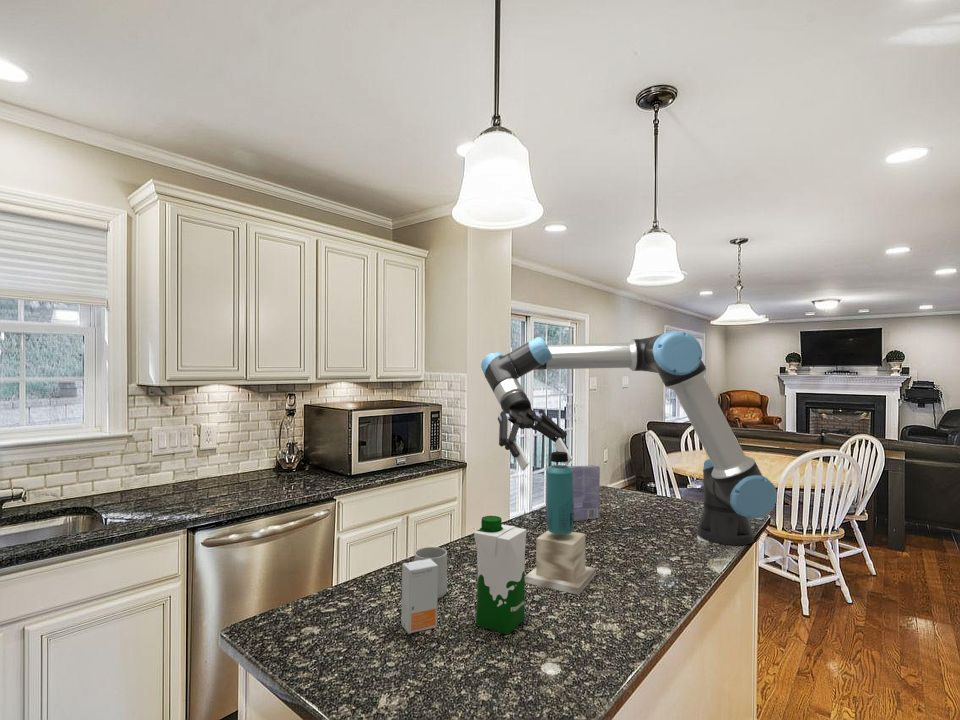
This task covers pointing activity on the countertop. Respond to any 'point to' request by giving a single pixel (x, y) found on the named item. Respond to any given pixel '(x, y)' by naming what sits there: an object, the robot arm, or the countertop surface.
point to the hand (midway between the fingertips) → (548, 464)
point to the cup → (440, 559)
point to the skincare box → (419, 595)
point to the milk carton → (500, 575)
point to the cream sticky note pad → (561, 563)
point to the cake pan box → (585, 492)
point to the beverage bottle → (560, 496)
